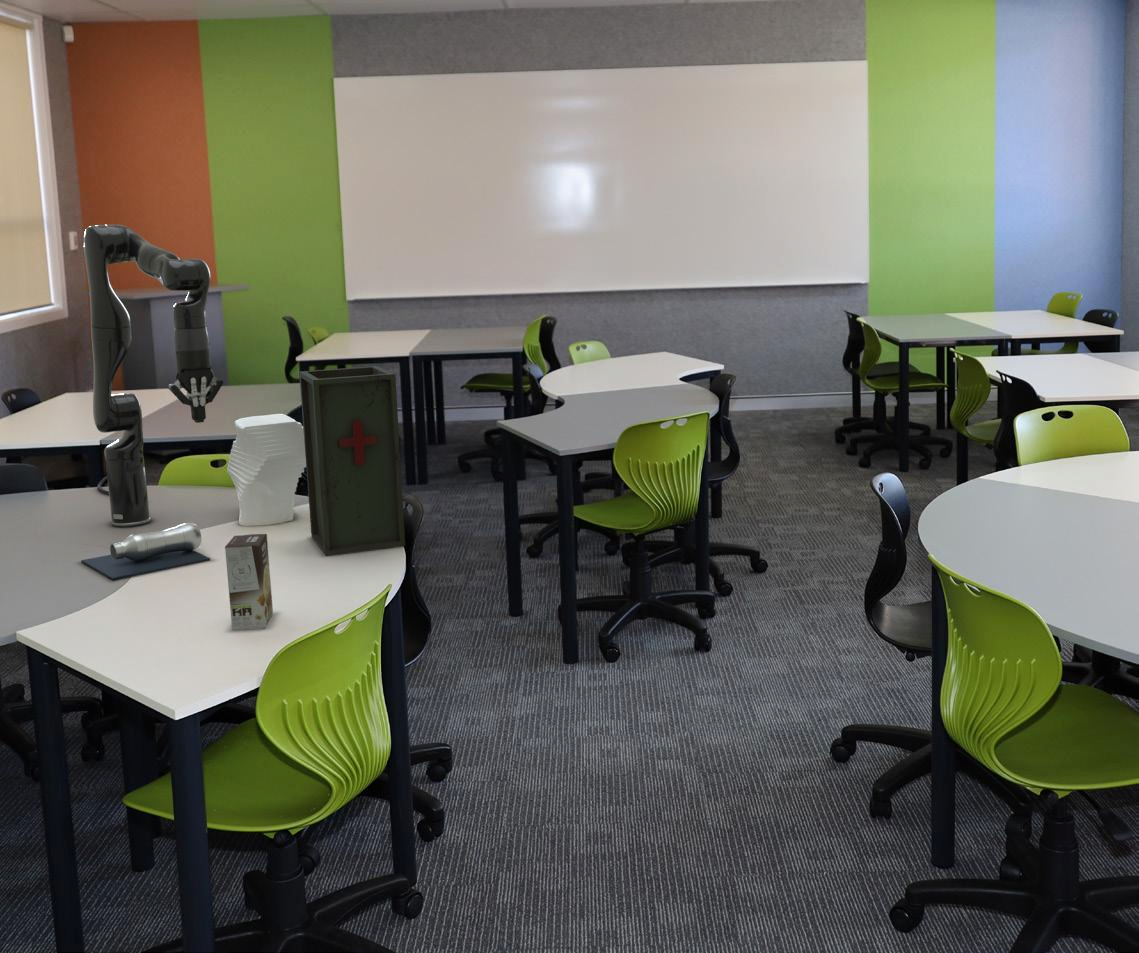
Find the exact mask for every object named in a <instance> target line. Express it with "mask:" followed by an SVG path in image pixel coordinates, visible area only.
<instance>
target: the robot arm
mask: <svg viewBox="0 0 1139 953" xmlns="http://www.w3.org/2000/svg"><path fill="white" fill-rule="evenodd" d="M83 254H84V261H85V268H86V275H87V281H88V282H87V283H88V291H89V305H90V306H89V308H90V337H91V345H92V346H91V347H92V348H91V349H92V361H93V389H92V393H93V394H92V415H93V420H94V425H95V427H96V429H97V430H98V432H100V433H115V432H122V431H123V434H122V435H121V436H120V437H119V438H118V439H117V440H116V441H114V442H112V443H110V444H108V445H107V446H105V448H104V451H103V452H104V460H105V461H104V462H105V469H106V476H104V477H103V478H102V479H101V480H100V481H99V483H98V484H97V486H96V487H97V491H99V492H100V493H103V494H106V495H108V498H109V506H110V517H111V521H110V522H111V525H112V526H113V527H119V528H121V527H122V528H127V527H128V528H129V527H136V526H142V525H146V524H147V523H150V521H151V514H150V507H149V506H150V505H149V494H148V486H147V476H146V475H147V474H146V467H145V456H144V431H143V430H144V429H143V411H142V405H141V402H140V399H139V398H138V396H137V395H136V394H135V393H132V392H126V393H118V394H112V389H113V383H114V380H115V377H116V375H117V372H118V370H119V368H120V367H121V365H122V363H123V362H124V360H125V359H126V357H127V356H128V353H129V351H130V348H131V345H132V321H131V317H130V314H129V312H128V310H127V308H126V307H125V305H124V304H123V302H122V301H121V299H120V298H119V296H118V295H117V294H116V292H115V291H114V289H113V287H112V285H111V282H110V278H109V272H108V271H109V270H108V265H114V264H123V263H128V262H129V263H135V264H136V266H137V268H138V269H139V270H140V271H141V272H142V273H143V274H145V275H147V276H148V277H150V278H153V279H156V280H157V281H158V282H159V283H160V284H161V286H163V287H164V289H167V290H169V291H171V292H184V291H185V292H188V294H187V296H186V298H185V299H184V300H181V301H178V302H176V303H175V304H174V305H173V307H172V315H173V316H172V317H173V326H174V348H175V359H176V369H177V373H176V374H175V375H176V376H175V380H174V381H173V382H172V383H169V384H168V385H167V389H168V391H170V392H171V393H172V394H173V395H174V396H175V397H176V399H178V400H179V401H180V403H181V404H182V405H186V406H189V407H190V413H191V419H192V421H194V423H196V424H201V423H204V422H205V420H206V419H207V413H206V405H208V404H209V403H212V402H213V401H214V400H215V398H216V397H217V395H218V393H219V391H220V389H221V388H222V386H223V384H224V380H222V379H219V378H218V377H216V376H215V375H214V371H213V370H212V359H211V349H210V348H211V347H210V346H211V343H210V338H209V332H208V327H207V319H206V318H207V317H206V315H207V314H206V307H207V300H208V293H209V289H210V284H211V272H210V268H209V267H208V264H207V263H206V262H205V261H204V260H203V259H200V258H184V259H183V258H181V259H180V258H179V257H178V256H177V255H176V254H175V253H173V252H171V251H168V250H166V249H164V248H161V247H159V246H156V245H154V244H152V243H151V242H149V241H147V239H145V238H144V237H142V236H141V235H139V234H138V233H137V232H136V231H134V230H133V229H131V228H129V227H128V226H126V225H123V224H98V225H97V224H96V225H90V226H88V227H87V228H86V229H85V231H84V235H83ZM209 386H210V387H209ZM182 388H183V389H184V390H185V391H186V395H187V396H186V395H185V393H183V391H182V390H181V389H182ZM207 389H208V390H207ZM105 481H107V489H108V490H106V489H103V488H102V485H104V483H105Z"/></svg>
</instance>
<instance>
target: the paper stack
mask: <svg viewBox="0 0 1139 953" xmlns="http://www.w3.org/2000/svg"><path fill="white" fill-rule="evenodd" d="M233 423H234V427H235V431H236V437H235V440H233V442H232V445H231V449H230V453H229V457H228V464H227V468H226V472H227V474H228V475H229V478H230V479H231V481H232V483H233V485H234V488H235V491H236V495H237V500H238V507H239V515H238V517H239V518H238V522H239V525H240V526H246V527H251V526H252V527H255V526H269V525H276V524H284V523H286V522H292V521H293V520H294V508H295V501H294V497H295V496H296V495H295V494H296V493H297V488H298V483H299V478H302V473H305V468H306V456H305V443H304V429H303V423H301V422H298V421H296V420H295V418H292V417H291V416H288V415H286V414H285V413H274V414H273V413H272V414H266V415H254V416H247V417H241V418H238V419H236V420H235V421H234V422H233Z"/></svg>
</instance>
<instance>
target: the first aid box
mask: <svg viewBox="0 0 1139 953" xmlns="http://www.w3.org/2000/svg"><path fill="white" fill-rule="evenodd" d="M298 373H299V374H298V376H299V386H300V387H299V388H300V401H301V403H300V404H301V415H302V426H303V429H304V443H305V456H306V467H305V468H306V480H307V494H308V496H307V497H308V508H309V521H310V523H309V524H310V536H311V539H312V540H313V541H314V543H315V544H316V545H317V547H318V548H319V549H320V550H321V552H322V553H323V554H324V556H325V557H329V556H335V555H344V554H353V553H361V552H368V551H377V550H385V549H393V548H400V547H406V533H405V515H404V514H405V513H404V499H403V498H404V497H403V481H402V466H401V448H400V431H399V429H400V428H399V414H398V397H397V396H398V395H397V380H396V373H394V372H392V371H389V370H387V369H385V368H382V367H380V366H378V365H376V366H375V365H374V366H361V367H360V366H359V367H345V368H332V369H330V368H329V369H318V370H304V371H298Z"/></svg>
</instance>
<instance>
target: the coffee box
mask: <svg viewBox="0 0 1139 953" xmlns="http://www.w3.org/2000/svg"><path fill="white" fill-rule="evenodd" d="M268 544H269V543H268V534H267V533H251V534H250V533H249V534H240V535H234V536H233V537H232V538H231V539H230V540H229V541H228V543H226V545H224V551H225V552H224V553H225V562H226V573H227V574H226V575H227V584H228V585H227V587H228V598H229V605H230V606H229V608H230V609H229V610H230V621H231V630H232V631H240V630H241V631H242V630H257V629H265V628H266V627H267V625H268V624H269V622H270V620H271V618H272V616H273V615H274V607H273V595H272V582H271V571H270V570H271V569H270V557H269V546H268Z"/></svg>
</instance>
